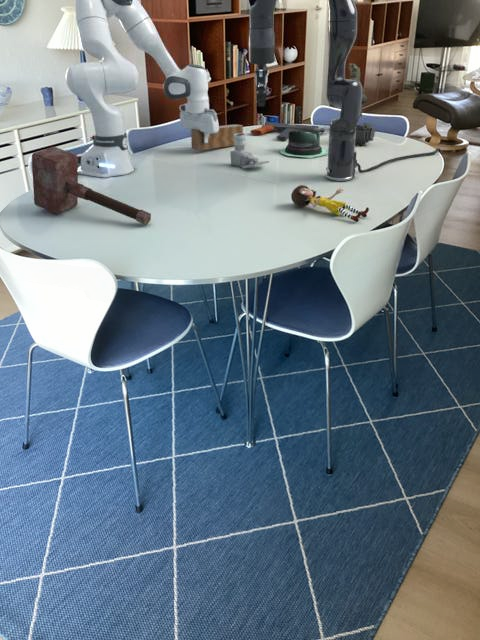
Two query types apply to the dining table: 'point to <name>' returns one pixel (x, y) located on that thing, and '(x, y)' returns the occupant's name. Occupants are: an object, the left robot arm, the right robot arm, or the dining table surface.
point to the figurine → (324, 202)
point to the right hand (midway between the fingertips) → (261, 103)
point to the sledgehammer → (69, 186)
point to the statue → (356, 76)
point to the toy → (364, 134)
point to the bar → (215, 137)
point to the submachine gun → (281, 129)
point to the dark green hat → (304, 143)
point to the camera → (243, 154)
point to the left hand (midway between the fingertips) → (200, 141)
